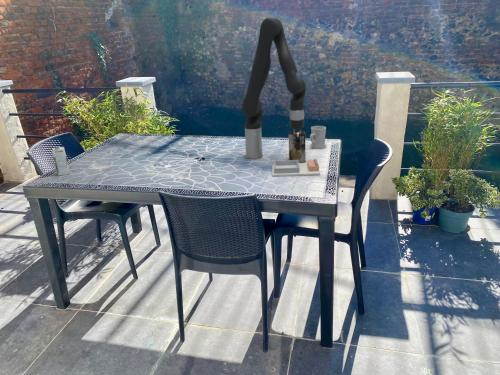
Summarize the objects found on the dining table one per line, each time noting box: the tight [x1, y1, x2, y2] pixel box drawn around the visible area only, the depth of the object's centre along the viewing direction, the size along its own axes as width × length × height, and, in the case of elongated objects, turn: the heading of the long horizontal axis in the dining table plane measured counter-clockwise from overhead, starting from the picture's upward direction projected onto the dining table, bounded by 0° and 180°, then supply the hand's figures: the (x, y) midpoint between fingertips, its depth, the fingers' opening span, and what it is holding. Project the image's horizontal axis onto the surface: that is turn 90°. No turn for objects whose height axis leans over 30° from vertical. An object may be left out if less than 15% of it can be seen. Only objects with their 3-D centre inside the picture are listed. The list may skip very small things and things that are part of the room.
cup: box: [309, 125, 327, 150], centre depth 239 cm, size 10×9×12 cm
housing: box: [271, 159, 321, 178], centre depth 205 cm, size 24×16×4 cm
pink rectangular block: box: [306, 158, 320, 172], centre depth 204 cm, size 5×10×3 cm, turn 177°
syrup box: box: [51, 146, 70, 177], centre depth 217 cm, size 6×6×14 cm
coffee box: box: [288, 130, 307, 163], centre depth 216 cm, size 9×6×16 cm
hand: (297, 148), depth 217 cm, fingers closed on coffee box, 6 cm apart
